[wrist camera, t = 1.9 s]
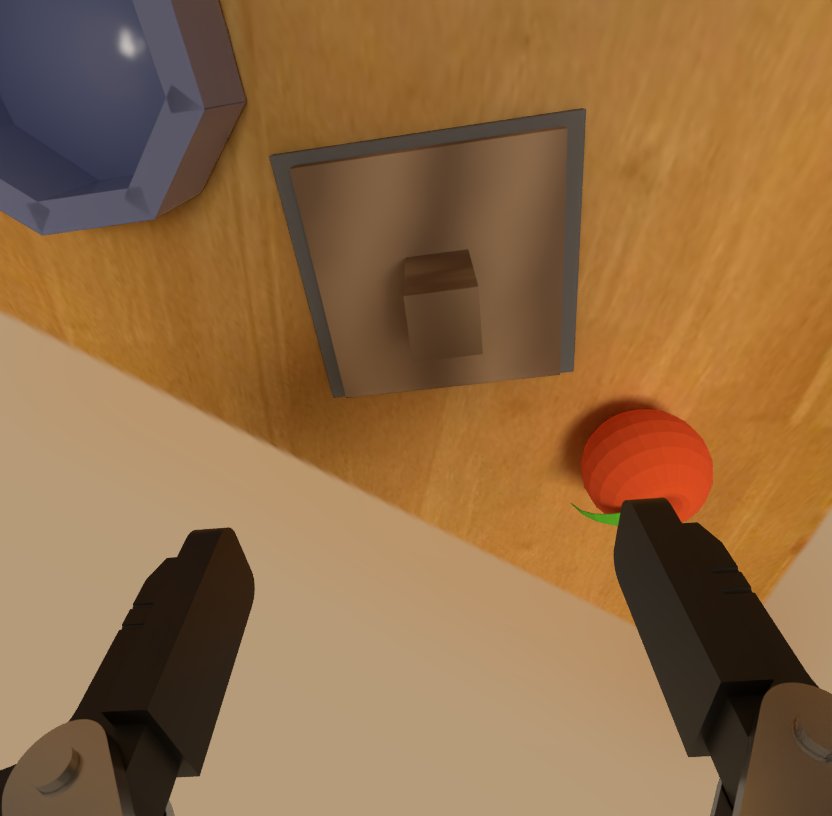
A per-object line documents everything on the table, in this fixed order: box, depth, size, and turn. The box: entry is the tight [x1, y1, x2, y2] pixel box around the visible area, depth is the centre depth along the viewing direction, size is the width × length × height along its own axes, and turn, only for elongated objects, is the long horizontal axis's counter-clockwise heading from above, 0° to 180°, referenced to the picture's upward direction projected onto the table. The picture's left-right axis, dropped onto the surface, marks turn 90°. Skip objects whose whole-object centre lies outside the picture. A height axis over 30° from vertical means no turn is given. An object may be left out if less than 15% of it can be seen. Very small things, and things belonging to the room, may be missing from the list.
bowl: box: [0, 0, 246, 235], centre depth 19 cm, size 11×11×6 cm
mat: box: [269, 108, 586, 398], centre depth 26 cm, size 14×13×1 cm
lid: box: [289, 126, 568, 398], centre depth 23 cm, size 12×12×6 cm
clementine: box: [571, 409, 713, 526], centre depth 29 cm, size 8×7×7 cm
